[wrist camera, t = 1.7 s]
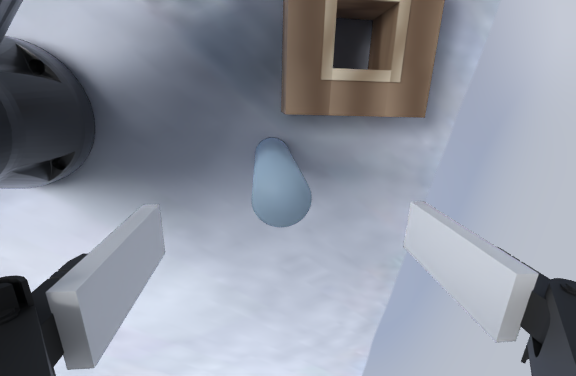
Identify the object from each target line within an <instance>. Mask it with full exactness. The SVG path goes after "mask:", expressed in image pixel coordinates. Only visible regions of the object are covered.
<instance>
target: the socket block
mask: <svg viewBox="0 0 576 376" xmlns="http://www.w3.org/2000/svg"><path fill="white" fill-rule="evenodd" d="M444 1H445V0H283V41H282V94H281V112H283V113H284V114H292V115H335V116H379V117H423V118H425V113H426V107H427V101H428V96H429V90H430V84H431V78H432V72H433V66H434V60H435V54H436V48H437V43H438V37H439V31H440V25H441V19H442V13H443V7H444ZM336 18H344V19H362V20H373V25H372V35H371V44H370V54H369V63H368V70H366V69H341V68H333V56H334V42H335V27H336Z"/></svg>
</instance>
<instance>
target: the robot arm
mask: <svg viewBox="0 0 576 376" xmlns="http://www.w3.org/2000/svg"><path fill="white" fill-rule="evenodd" d="M22 1H23V0H0V189H20V188H32V187H38V186H42V185H46V184H49V183H51V182H54V181H56V180H59V179H61V178H64V177H66V176H68V175H69V174H71V173H73V172H74V171H75V170H76V169H78V168H79V167H80V166H81V165H82V163H83V162H84V161H85V160H86V158H87V156H88V155H89V153H90V150H91V148H92V145H93V141H94V134H95V123H94V116H93V111H92V108H91V105H90V102H89V99H88V97H87V95H86V93H85V91H84V89H83V88H82V86H81V85H80V83H79V82H78V80H77V79H76V78H75V76H74V75H73V74H72V73H71V72H70V71H69V69H68V68H66V67H65V66H64V65H63V64H62V63H61V62H60V61H59V60H58V59H56V58H55V57H54V56H52V55H51V54H49V53H48V52H46V51H45V50H43V49H41V48H39V47H37V46H35V45H33V44H31V43H28V42H26V41H23V40H20V39H16V38H12V37H8V36H5V34H6V32H7V30H8V28H9V26H10V24H11V22H12V20H13V18H14V16H15V14H16V12H17V11H18V9H19V7H20V5H21V3H22ZM403 247H404V248H405V249H406V250H407V251H408V252H409V253H410V254H411V255H412V256H413V257H414V258H415V259H416V261H418V263H419V264H421V266H422V267H423V268H424V269H425V270H426V271H427V272H428V273H429V274H430V275H431V276H432V277H433V278H434V279H435V280H436V281H437V282H438V283H439V284H440V285H441V286H442V287H443V289H444V290H445V291H446V292H448V294H449V295H450V296H451V297H452V298H453V299H454V300H455V301H456V302H457V303H458V304H459V305H460V306H461V307H462V308H463V309H464V310H465V311H466V312H467V313H468V314H469V316H470V317H471V318H472V319H473V320H474V321H475V322H476V323H477V324H478V325H479V326H480V327H481V328H482V329H483V330H484V331H485V332H486V333H487V334H488V335H489V336H490V337H491V338H492V339H493V340H494V341H495V342H512V341H516V339H517V336H518V333H519V330H520V327H522V328H523V329H525V330H526V331H527V332H528V333H529V334H530V337H529V340H528V343H527V345H526V349H525V351H524V354H523V357H522V360H521V362H523V363H525V362H526V360H527V359H529V360H530V367H531V373H532V376H576V282H574V281H571V280H566V279H561V278H554V279H551V280H550V279H549V278H547V277H546V276H544V275H542V274H541V273H539V272H538V271H536V270H534V269H533V268H531V267H530V266H528V265H526V264H525V263H523V262H520V260H518V259H517V258H515V257H513V256H511V255H510V254H509V253H507V252H505V251H504V250H502V249H501V248H499V247H496V246H494V245H493V244H491V243H489V242H488V241H486V240H485V239H483V238H482V237H480V236H478V235H477V234H475V233H474V232H472V231H470V230H469V229H467V228H466V227H464V226H463V225H461V224H459V223H458V222H456V221H454V220H453V219H451V218H450V217H448V216H446V215H445V214H443V213H442V212H440V211H438V210H437V209H435V208H434V207H432V206H431V205H429V204H427V203H426V202H424V201H413V202H411V203H410V209H409V215H408V221H407V227H406V233H405V239H404V245H403ZM164 254H165V247H164V239H163V231H162V223H161V214H160V206H159V204H143V205H142V206H141V207H140V208H139V209H138V210H136V211H135V212H134V213H133V214H132V215H131V216H130V217H129V218H128V219H126V220H125V221H124V222H123V223H122V224H121V225H120V226H119V227H118V228H116V229H115V230H114V231H113V232H112V233H111V234H110V235H109V236H108V237H106V238H105V239H104V240H103V241H102V242H101V243H100V244H99V245H98V246H96V247H95V248H94V249H93V250H92V251H91V252H90V253H89V254H82V255H80V256H78V257H76V258H74V259H72V260H70V261H68V262H67V263H66V264H65V265H64V266H62V267H61V268H60V269H59V270H58V272H55V273H54V274H53V275H52V276H51V277H50V279H47V280H46V281H45V282H44V283H42V284H41V285H40V286H39V287H38V288H36V289H35V290H34V291H33V292H32V293H31V291H30V288H29V285H28V281H27V279H26V278H25V277H22V276H5V277H1V278H0V376H56V374H55V371H54V368H53V367H54V366H55V364H56V363H57V362H58V360H59V359H60V358H61V357H62V355H63V356H64V360H65V363H66V367H67V370H71V369H87V368H95V366H96V365H97V363H98V362H99V360H100V358H101V357H102V355H103V353H104V352H105V350H106V349H107V347H108V345H109V344H110V342H111V340H112V339H113V337H114V336H115V334H116V332H117V331H118V329H119V327H120V326H121V324H122V323H123V321H124V319H125V318H126V316H127V314H128V313H129V311H130V310H131V308H132V306H133V305H134V303H135V301H136V300H137V298H138V297H139V295H140V293H141V292H142V290H143V288H144V287H145V285H146V284H147V282H148V280H149V279H150V277H151V275H152V274H153V272H154V271H155V269H156V267H157V266H158V264H159V262H160V261H161V259H162V258H163V256H164Z"/></svg>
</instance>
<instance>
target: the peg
mask: <svg viewBox="0 0 576 376" xmlns="http://www.w3.org/2000/svg"><path fill="white" fill-rule="evenodd" d="M311 200H312V199H311V191H310V188H309V186H308V184H307V182H306V180H305V179H304V177H303V175H302V173H301V171H300V170H299V168H298V166H297V164H296V162H295V160H294V159H293V157H292V155H291V153H290V151H289V150H288V148H287V146H286V144H285V143H284V142H283V141H281V140H280V139H278V138H266V139H264V140H263V141H261V142H260V143H259V144H258V146H257V148H256V152H255V164H254V176H253V188H252V207H253V209H254V212H255V214H256V215H257V216H258V218H259V219H260V220H262V221H263V222H264V223H266V224H268V225H271V226H274V227H287V226H291V225H293V224H296V223H297V222H299V221H300V220H301V219H303V218H304V217H305V215H306V214H307V212H308V211H309V208H310V205H311Z"/></svg>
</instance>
